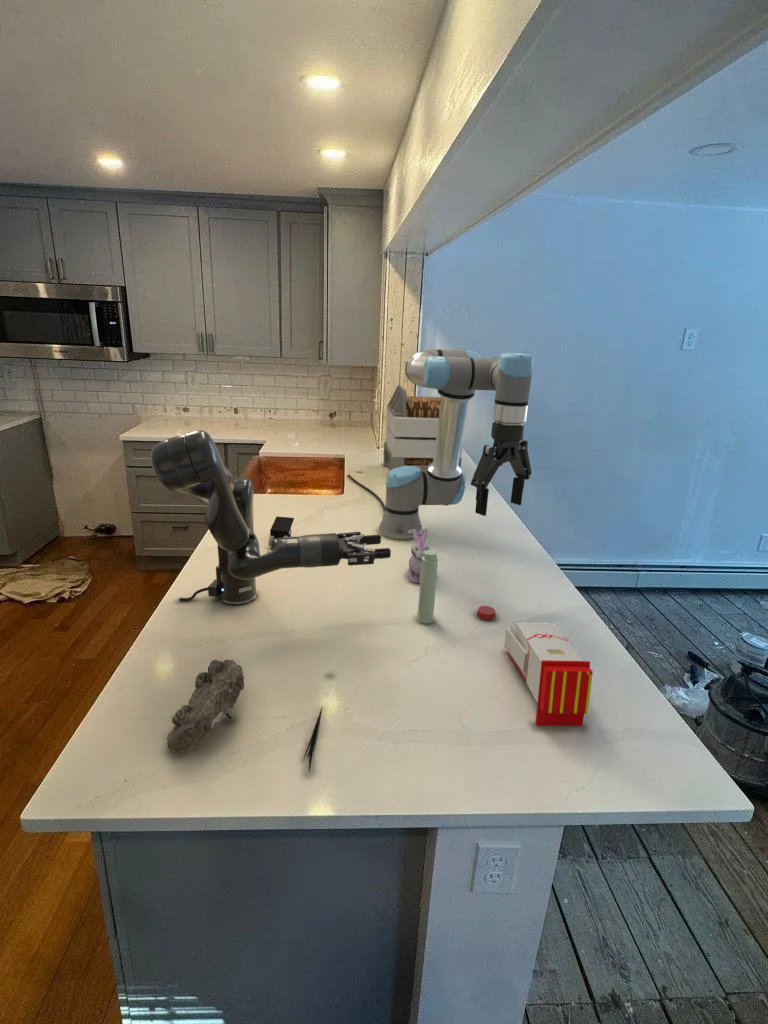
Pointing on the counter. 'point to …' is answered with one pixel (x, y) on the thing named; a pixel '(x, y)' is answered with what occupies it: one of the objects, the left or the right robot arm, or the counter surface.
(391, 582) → the counter surface
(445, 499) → the right robot arm
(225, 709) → the fossil
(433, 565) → the bottle
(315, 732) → the feather
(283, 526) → the figurine character
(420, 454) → the grey slatted crate
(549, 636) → the toy
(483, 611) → the lid
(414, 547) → the figurine
